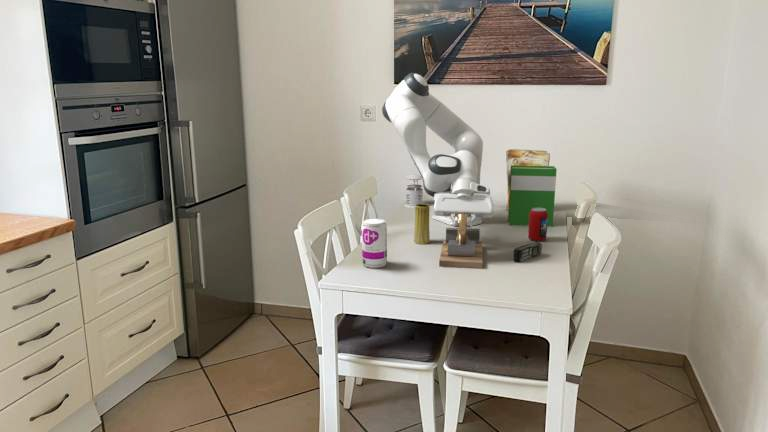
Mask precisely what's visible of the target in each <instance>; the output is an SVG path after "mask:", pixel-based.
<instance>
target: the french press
mask: <svg viewBox="0 0 768 432" xmlns="http://www.w3.org/2000/svg"><path fill="white" fill-rule="evenodd" d="M413 163H414V162H413ZM413 165H414V166H413V167H414V170H413V171H414V172H413V173H412V174H409V175H407V176H406V177H405V178H406V180H411V181H413V184H412V183H411V184H407V185H406V187H407V188H406V189H405V204H404V206H403V207H404V208H408V209H415V205H416V204H424V203H423V202H424V201H423V196H424V195H423V193H424V192H423V190H424V188H422V187H423V185H422V184H419V182H418V181H420V180H423V179H422V176H421V174H417V173H416V172H415V171H416V165H415V163H414V164H413ZM415 183H417V184H415Z"/></svg>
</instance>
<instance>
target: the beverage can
mask: <svg viewBox="0 0 768 432" xmlns="http://www.w3.org/2000/svg"><path fill="white" fill-rule="evenodd" d="M547 222H548V213H547V211H546V209H545V208H532V210H531V211H530V214H529V226H528V235H527V237H528V239H529V240H530V241H533V242H544V241H545V240H546V239H547V233H548V226H547Z"/></svg>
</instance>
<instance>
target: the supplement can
mask: <svg viewBox="0 0 768 432" xmlns="http://www.w3.org/2000/svg"><path fill="white" fill-rule="evenodd" d="M387 226H388V225H387V223H386V220H385V219H381V218H377V217H376V218H367V219H364V220H363V222H362V224H361V250H362V251H361V254H362V255H361V258H362V261H361V263H362V265H364V267H367V268H371V269H379V268H382V267H385V266H386V264H387V263H388V254H387V253H388V246H387V244H388V234H387V233H388V227H387Z"/></svg>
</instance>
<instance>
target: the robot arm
mask: <svg viewBox="0 0 768 432" xmlns="http://www.w3.org/2000/svg"><path fill="white" fill-rule="evenodd" d="M429 87H430V86H429V83H428V81H427V80H426V79H425V78H424V77H423V76H422V75H421V74H419V73H417V72H410V73H408V74H407V75H406V76H404V77H403V80H401V82H399V83H398V85H396V87H395V88H394V89H393V91H392V93H391V94H390V96H388V98H387V99H386V101H385V102H384V103H383V106H382V109H381V112H382V116H383V117H384V118H385V119H386V120H387V121H388V122H389V123H391V124H392V125H393V127H394V129H395V130H396V132H397V134H398V135H399V137H400V138H401V140H402V141H403V144H404V146H405V147H406V149H407V151H408V153H409V155H410V158H411V159H412V161H413V163H415V168H416V169H417V171H418V172H419V175H420V176H422V179H421V180H422V183H423V185H422V187H423V190H424V191H425V193H426V194H427V195H428V196H430V197H432V198H433V201H434V205H433V215H432V216H431V218H432V219H433V220H436V221H438V222H441V223H444V224H447V225H449V226H453V228H458V214H459V213H466V214H467V228H472V227H473V226H476V225H481V224H482V223H483V219H482V218H484V219H491V218H492V217H493V216H494V201H493V197H492V196H491V191H490V188H489V187H488V186H485V185H482V184H481V168H482V162H483V151H484V150H483V147H484V142H483V139H482V137H481V136H480V134H479V133H477V132H476V131H475V129H473V128H472V126H470V125H469V124H467V123H466V121H464V120H462V118H461V117H459V116H458V115H457V114H456V113H455V112H453V111H452V110H451V109H450V108H448V106H446V105H445V104H444V103H443V102H441V100H439V99H438V98H437V97H435V96H434V95H432V94H431V93H430V91H429V90H430V88H429ZM427 128H429V129H430V130H431V131H432V132H433V133H435V134H436V135H437V136H438V137H439V138H441V139H442V140H443V141H445V142H446V143H447V144H449V145H450V146H451V147H452V149H454V150H455V151H454V153H452V154H443V153H441V154H435V155H433V156H430V154H429V151H428V149H427V148H428V147H427ZM472 229H473V228H472Z"/></svg>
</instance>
